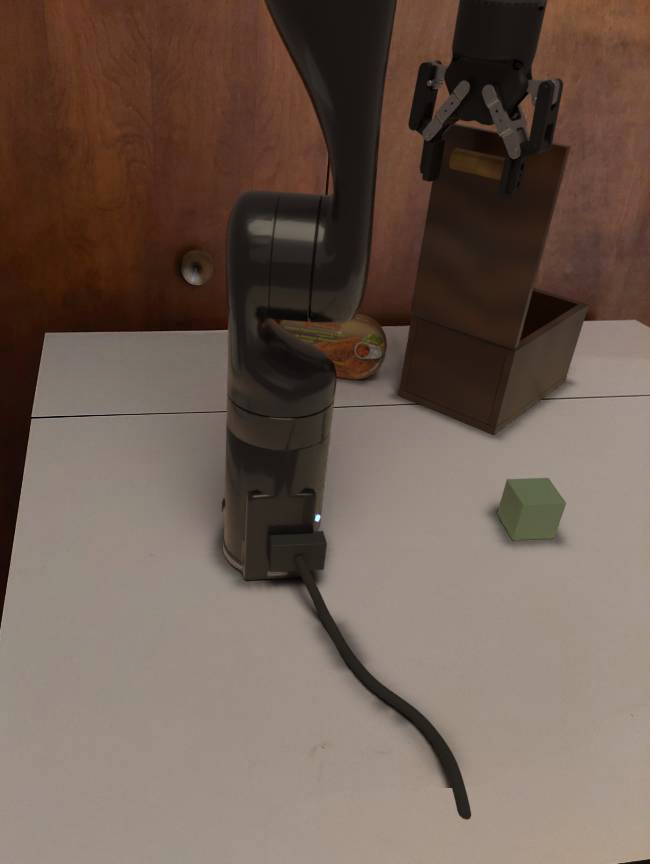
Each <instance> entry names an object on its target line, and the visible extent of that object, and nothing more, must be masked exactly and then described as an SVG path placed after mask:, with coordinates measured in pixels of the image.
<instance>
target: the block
mask: <svg viewBox="0 0 650 864" xmlns="http://www.w3.org/2000/svg"><path fill="white" fill-rule="evenodd" d="M566 506H567V502H566V500H565V499H564V498H563V496H562V495H561V493H560V491H558V489H557V488H556V486H555V485H554V483H553V482H552V481H551V479H550V477H534V478H532V477H531V478H507V479H506V480H505V484H504V488H503V492H502V494H501V498H500V502H499V506H498V510H497V512H496V515H497V517H498V519H499V520H500V522H501V524H502V525H503V527H504V529H505V531H506V532H507V534H508V535H509V537H510V540H511V541H524V540H528V541H529V540H547V539H548V540H549V539H550V540H551V539H555V537H556V534H557V531H558V528H559V526H560V523H561V520H562V517H563V514H564V511H565V508H566Z"/></svg>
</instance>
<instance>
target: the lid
mask: <svg viewBox="0 0 650 864" xmlns="http://www.w3.org/2000/svg"><path fill="white" fill-rule="evenodd" d="M442 139H443V140H445V145H444V151H443V157H442V163H441V168H440V174H439V177H438V179H437V180H434V181H431V188H430V193H429V199H428V206H427V212H426V218H425V223H424V229H423V235H422V240H421V246H420V251H419V252H420V253H419V259H418V265H417V270H416V271H417V272H416V277H415V282H414V287H413V288H414V289H413V294H412V300H411V305H410V306H411V307H410V311H409V312H410V313H411V314H412V315H413V314H416V315H419V316H422V317H425V318H428V319H431V320H434V321H437V322H440V323H442V324H445V325H448V326H451V327H454V328H457V329H460V330H463V331H466V332H469V333H471V334H474V335H477V336H480V337H483V338H486V339H489V340H492V341H495V342H498V343H501V344H503V345H506V346H509V347H512V348H516V347H518V345H519V341H520V337H521V333H522V330H523V326H524V322H525V318H526V314H527V311H528V307H529V303H530V299H531V295H532V291H533V288H535V284H536V279H537V276H538V272H539V269H540V264H541V259H542V257H543V253H544V249H545V245H546V242H547V238H548V234H549V230H550V226H551V222H552V219H553V215H554V212H555V207H556V204H557V201H558V197H559V192H560V188H561V185H562V180H563V177H564V173H565V169H566V165H567V162H568V157H569V154H570V150H571V145H569V144H562V143H557V142H552V146H551V148H550V149H549V150H548V151H545V152H542V153H539V154H536V155H530V156H529V157H528V159H527V162H526V167H525V171H524V175H523V179H522V184H521V188H520V189H519V191H518V192H517V193H514V195H513V196H512V197H511V198H509V199H507V200H502V199H498V198H497V194H498V189H499V184H500V180H501V175H502V171H503V166H504V161H505V158H508V157H509V154H508V151H507V148H506V146H505V143H504V140H503V138H502V137H501V136H499V134H498V132H497V130H496V131H495V130H492V129H491V130H490V129H485V128H480V127H475V126H469V125H464V124H459V123H455V124H454V125H453V126H452V127H451V128H450V129H449V130H448V132H447V133H446V134H445V135H444V136H443V137H442Z"/></svg>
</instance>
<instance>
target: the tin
mask: <svg viewBox="0 0 650 864" xmlns="http://www.w3.org/2000/svg"><path fill="white" fill-rule="evenodd" d="M278 324H279V325H280V326H281V327H282V328H283V329H285V330H286V331H287V332H289V333H290V334H292V335H294V336H296V337H297V338H299V339H301V340H303V341H306V342H308V343H310V344H312V345H314V346H316V347H317V348H319V349H321V350H322V351H324V352H325V353H326V354H327V355H328V356H329V357H330V358H331V359H332V361H333V362H334V364H335V367H336V371H337V378H342V379H348V380H363V379H366V378H368V377H371V376H372V375H374V374H375V373H376V372H377V371H378V370H379V369H380V368H381V366H382V365H383V363H384V361H385V358H386V353H387V349H388V340H387V336H386V333H385V330H384V329H383V327H382V326H381V325H380V323H379V322H378V321H376V320H375V319H374V318H372V317H371V316H369V315H366V314H361V313H357V314H356V316H355V317H354V318H353V319H352V320H350V321H349V322H347V323H343V324H323V323H313V322H312V323H311V322H300V321H289V320H280V322H279V323H278Z"/></svg>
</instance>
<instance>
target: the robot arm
mask: <svg viewBox="0 0 650 864" xmlns="http://www.w3.org/2000/svg"><path fill="white" fill-rule="evenodd" d="M458 1H459V2H458V8H457V13H456V20H455V27H454V33H453V38H452V43H451V53H452V56H451V60H450V63H449V64H448V65H444V64H443V63H442V61H440V60H431V61H426V62H422V63H420V64H419V67H418V71H417V76H416V81H415V87H414V92H413V97H412V103H411V107H410V113H409V117H408V123H407V124H408V129H409V130H411V131H415V132H417V133H418V134H420V135H421V136H422V138H423V145H422V150H421V157H420V164H419V173H420V174H421V175H422V176H421V178H422V181H424V182H428V183H432V181H434V180H437V179H438V177H439V174H440V168H441V163H442V157H443V151H444V145H445V140H443V139H442V137H443V136H444V135H445V134H446V133H447V132H448V130H449V129H450V128H451V127H452V126H453V125H454V124H457V123H458V122H459V121H460V122H461V121H463V122H468V123H469V122H473V121H475V122H477V123H478V124H480V125H483V126H489V127H491V126H493V125H494V126H495V129H496V132H498V134H499V136H501V137H502V138H503V140H504V143H505V146H506V148H507V151H508V154H509V157H508V158H505V161H504V166H503V171H502V175H501V180H500V184H499V189H498V194H497V198H498V199H502V200H507V199H509V198H511V197H512V196H513V195H514V193H517V192H518V191H519V189H520V188H521V184H522V179H523V175H524V171H525V167H526V162H527V159H528V157H529V156H530V155H536V154H539V153H542V152H545V151H548V150H549V149H550V148H551V146H552V142H553V141H554V136H555V131H556V126H557V120H558V117H559V116H558V115H559V110H560V104H561V99H562V94H563V90H564V82H563V80H562V79H561V78H551V79H538V78H537V79H536V78H533V71H532V70H533V69H532V67H533V63H534V60H535V58H536V54H537V50H538V45H539V41H540V37H541V36H540V35H541V32H542V28H543V23H544V18H545V14H546V8H547V4H548V0H458ZM263 2H264V4H265V7H266V9H267V12H268V14H269V16H270V18H271V21H272V22H273V26H274V27H275V29H276V31H277V35H278V36H279V39H281V42H282V44H283V46H284V48H285V50H286V52H287V54H288V56H289V58H290V60H291V62H292V64H293V66H294V68H295V70H296V72H297V74H298V76H299V78H300V80H301V82H302V84H303V86H304V89H305V91H306V93H307V96H308V98H309V100H310V102H311V106H312V108H313V110H314V114H315V116H316V119H317V122H318V124H319V127H320V130H321V134H322V136H323V139H324V143H325V147H326V151H327V155H328V160H329V166H330V167H329V168H330V174H331V179H332V189H333V191H332V193H331V194H323V195H322V194H320V193H319V194H318V193H307V192H306V193H304V192H293V191H277V190H276V191H275V190H266V189H265V190H264V189H263V190H262V189H257V190H256V189H251V190H246V191H243V192H242V193H240V194H239V196H237V198H236V199H235V201H234V202H233V204H232V206H231V210H230V212H229V216H228V220H227V226H226V233H225V234H226V235H225V246H224V247H225V248H224V249H225V250H224V253H225V254H224V258H225V260H224V261H225V263H224V265H225V266H224V267H225V290H226V292H225V293H226V294H225V295H226V313H227V314H226V317H227V375H226V376H227V378H226V379H227V380H226V381H227V382H226V422H225V423H226V424H225V425H226V426H225V427H226V428H225V472H224V473H225V474H224V497H223V499H222V501H221V512H223V513H224V519H223V521H224V523H223V526H224V528H223V536H222V550H223V554H224V557H225V558H226V560H227V562H228V563H229V564H230V565H232V566H233V567H234V568H236V569H237V570H238V571H240V572H242V575H243V579H244V580H246V581H249V580H250V581H253V580H269V579H270V580H277V579H278V580H279V579H293V578H296V579H297V578H301V580H302V581H303V584H304V586H305V588H306V590H307V593H308V595H309V597H310V598H311V601H312V603H313V605H314V608H315V610H316V612H317V614H318V616H319V618H320V620H321V622H322V623H323V625H324V627H325V629H326V631H327V632H328V635H329V636H330V638H331V639H332V641H333V644H334V645H335V647H336V648H337V650H338V652H339V653H340V655H341V657H342V659H344V661H345V662H346V664H347V665H348V666H349V667H350V669H351V670H352V671H353V672H354V674H355V675H356V676H357V677H358V678H359V679H360V680H361V681H362V682H363V683H364V684H365V685H366V686H367V687H368V688H369V689H370V690H372V692H374V693H375V694H376V695H377V696H379V697H380V698H382V699H383V700H384V701H385V702H387V703H388V704H390V705H391V706H392V707H394V708H395V709H397V710H399V711H400V712H401V713H402V714H404V715H405V716H406V717H407V718H408V719H410V720H411V721H412V722H413V723H414V724H415V725H416V726H417V727H418V728H419V729H420V731H422V733H423V734H424V735H425V737H426V738H427V739H428V740H429V742H430V743H431V744H432V746H433V748H434V749H435V750H436V753H437V754H438V756H439V757H440V759H441V762H442V763H443V765H444V768H445V771H446V774H447V777H448V780H449V783H450V786H451V790H452V795H453V797H454V798H453V799H454V802H455V806H456V811H457V814H458V817H460V818H461V819H462V820H466V821H468V820H470V819H471V818H472V811H471V805H470V801H469V800H470V799H469V796H468V793H467V792H468V791H467V789H466V786H465V782H464V777H463V776H462V772H461V769H460V766H459V765H458V764H459V763H458V762H457V760H456V758H455V755H454V753H453V751H452V750H451V748H450V746H449V745H448V743H447V742H446V741H445V739H444V738H443V736H442V735H441V734H440V732H439V731H438V730H437V728H436V727H435V726H434V725H433V724H432V723H431V721H430V720H429V719H428V718H427V717H425V715H424V714H423V713H422V712H420V711H419V710H418V709H417V708H415V707H414V706H413V705H412V704H410V703H409V702H408V701H406V700H405V699H403V698H402V697H401V696H399V694H397V693H395V692H394V691H392V690H391V689H390V688H388V687H386V686H385V685H384V684H383V683H382V682H380V681H379V680H378V679H377V678H376V677H374V676H373V674H371V672H369V670H368V669H367V668H366V667H365V665H363V663H361V661H360V659H358V657H357V656H356V654H355V653H354V652H353V650H352V649H351V648H350V646H349V645H348V643H347V641H346V640H345V638H344V636H343V634H342V632H341V631H340V629H339V627H338V625H337V623H336V621H335V620H334V618H333V616H332V615H331V613H330V611H329V609H328V607H327V605H326V603H325V600H324V598H323V596H322V594H321V591H320V589H319V587H318V585H317V583H316V581H315V579H314V577H313V574H312V573H311V571H323V570H325V561H326V554H327V547H328V543H327V539H326V535H325V532H324V530H321V523H322V513H323V503H324V495H325V486H326V477H327V468H328V460H329V451H330V443H331V441H330V440H331V433H332V426H333V416H334V410H335V409H334V407H335V399H336V392H337V391H336V390H337V385H338V383H337V382H338V377H337V371H336V367H335V364H334V362H333V361H332V359H331V358H330V357H329V356H328V355H327V354H326V353H325V352H324V351H322V350H321V349H319V348H317V347H316V346H314V345H312V344H310V343H308V342H306V341H303V340H301V339H299V338H297V337H296V336H294V335H292V334H290V333H289V332H287V331H286V330H285V329H283V328H282V327H281V326H280V325H279V323H278V322H277V321H282V320H289V321H300V322H311V323H312V322H313V323H323V324H343V323H347V322H349V321H350V320H352V319H353V318H354V317H355V316H356V314H358V312H359V310H360V309H361V306H362V304H363V301H364V298H365V293H366V289H367V285H368V279H369V272H370V264H371V256H372V255H371V254H372V246H373V245H372V243H373V234H374V233H373V230H374V218H375V205H376V204H375V203H376V191H377V189H376V188H377V178H378V165H379V151H380V138H381V128H382V127H381V126H382V114H383V105H384V95H385V87H386V81H387V80H386V79H387V73H388V66H389V65H388V64H389V58H390V52H391V45H392V39H393V33H394V32H393V31H394V24H395V18H396V11H397V7H398V6H397V5H398V0H263ZM444 83H445V86H446V87H445V88H446V89H447V91H448V95H449V96H448V97H447V99H446V100H445V101H444V103H443V104H441V106H440V107H439V108H438V110H437V111H436V112H435V114H434V111H435V108H436V102H437V97H438V92H439V89H440V88H441V87H443V85H444ZM529 94H530V98H531V99H530V100H531V105H532V106H533V107H534V109H533V110H534V111H533V115H532V120H531V121H532V122H531V125H530V126H531V128H530V132H528V130H527V126H528V125H527V124H528V123H527V119H526V116H525V114H524V111H523V109H522V106H521V103H522V102H523V101H524V100H525V99H526V98H527V96H528V95H529ZM553 143H554V142H553ZM276 320H277V321H276Z"/></svg>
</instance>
